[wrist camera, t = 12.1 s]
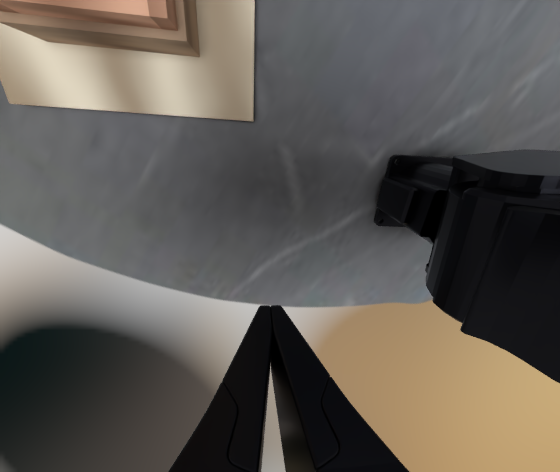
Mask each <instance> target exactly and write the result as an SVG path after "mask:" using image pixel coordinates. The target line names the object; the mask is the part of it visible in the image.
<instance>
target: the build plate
mask: <svg viewBox="0 0 560 472" xmlns="http://www.w3.org/2000/svg"><path fill="white" fill-rule="evenodd" d="M254 30H255V0H0V80H1V83H2V85H3V88H4V90H5V93H6V95H7V98H8V100H9V103H10V104H20V105H33V106H46V107H60V108H74V109H88V110H101V111H115V112H129V113H143V114H156V115H170V116H184V117H198V118H211V119H225V120H239V121H253V120H254Z"/></svg>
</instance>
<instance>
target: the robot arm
mask: <svg viewBox="0 0 560 472" xmlns="http://www.w3.org/2000/svg"><path fill="white" fill-rule="evenodd" d="M396 159H398V162H397V163H396V164H395V160H396ZM380 219H382V220H381V221H380V222H378V221H379V220H380ZM374 223H375V224H376V225H378V226H395V227H407V228H409V229H410V230H412V231H413V232H415V233H416V234H418V235H419V236H421V237H423V238H424V239H426V240H427V241H429V242H430V243H432V244H433V247H432V251H431V255H430V259H429V263H428V264H427V265H426V269H425V271H426V273H427V275H426V286H427V288H428V290H429V292H430V293H431V295H432V296H433V303H434V304H436V305H437V306H438V307H439V308H440V309H441V310H442V311H444V312H445V313H446V314H448V315H449V316H451V317H452V318H454V319H455V320H457V321H459V322H461V323H463V324H462V326H461V331H462V332H463V333H465V334H468V335H471V336H473V337H476V338H480V339H482V340H485V341H488V342H490V343H492V344H494V345H496V346H498V347H500V348H502V349H505V350H506V351H508V352H510V353H512V354H513V355H515V356H517V357H518V358H520V359H522V360H523V361H525V362H526V363H528V364H529V365H531V366H533V367H534V368H536V369H537V370H539V371H540V372H542V373H543V374H545V375H547V376H548V377H550V378H551V379H553V380H555V381H557V382H559V383H560V151H546V150H514V151H503V152H493V153H482V154H472V155H461V156H454V157H453V158H442V157H426V156H409V155H394V156H392V157H391V158H390V161H389V165H388V168H387V172H386V176H385V179H384V180H383V183H382V186H381V190H380V194H379V198H378V202H377V211H376V214H375V218H374ZM270 363H271V373H272V380H273V387H274V393H275V400H276V407H277V414H278V421H279V428H280V435H281V442H282V449H283V456H284V463H285V470H286V472H409V471H408V470H407V469H406V468H405V467H404V466H403V464H402V463H401V462H400V461H399V460H398V458H397V457H396V456H395V455H394V454H393V453H392V452H391V450H390V449H389V448H388V447H387V446H386V445H385V443H384V442H383V441H382V440H381V439H380V438H379V436H378V435H377V434H376V433H375V432H374V431H373V429H372V428H371V427H370V426H369V425H368V424H367V422H366V421H365V420H364V419H363V418H362V417H361V415H360V414H359V413H358V412H357V411H356V409H355V408H354V407H353V406H352V405H351V403H350V402H349V401H348V399H347V398H346V397H345V395H344V394H343V393H342V391H341V390H340V389H339V387H338V386H337V384H336V383H335V381H334V380H333V379H332V377H330V375H329V373H328V372H327V370H326V369H325V367H324V366H323V365H322V363H321V362H320V360H319V359H318V358H317V356H316V355H315V353H314V352H313V350H312V349H311V348H310V346H309V345H308V343H307V342H306V341H305V339H304V338H303V336H302V335H301V333H300V332H299V331H298V329H297V328H296V326H295V325H294V324H293V322H292V321H291V319H290V318H289V316H288V315H287V314H286V312H285V311H284V309H283V308H282V307H281V306H280V305H272V306H271V307H270V306H260V307H259V308H258V310H257V312H256V314H255V316H254V318H253V320H252V322H251V324H250V326H249V328H248V330H247V333H246V334H245V336H244V338H243V340H242V342H241V345H240V346H239V348H238V350H237V352H236V354H235V356H234V358H233V360H232V362H231V364H230V366H229V369H228V370H227V373H226V374H225V377H224V378H223V381H222V383H221V384H220V386H219V388H218V390H217V392H216V394H215V396H214V398H213V400H212V402H211V403H210V406H209V408H208V409H207V411H206V413H205V414H204V416H203V418H202V419H201V421H200V423H199V424H198V426H197V427H196V429H195V431H194V432H193V434H192V436H191V437H190V439H189V440H188V442H187V444H186V445H185V447H184V448H183V450H182V451H181V453H180V455H179V456H178V457H177V459H176V461H175V462H174V464H173V465H172V467H171V468H170V470H169V472H261V467H262V455H263V444H264V432H265V421H266V410H267V398H268V387H269V386H268V385H269V375H270Z"/></svg>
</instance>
